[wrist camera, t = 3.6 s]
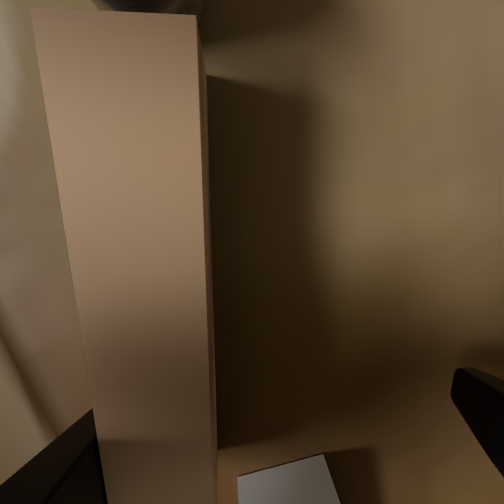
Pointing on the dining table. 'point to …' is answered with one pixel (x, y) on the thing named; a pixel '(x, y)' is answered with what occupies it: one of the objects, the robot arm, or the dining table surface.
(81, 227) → the leg bar
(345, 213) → the dining table surface
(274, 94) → the dining table surface
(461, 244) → the dining table surface
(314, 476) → the stop block
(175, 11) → the pivot pin
